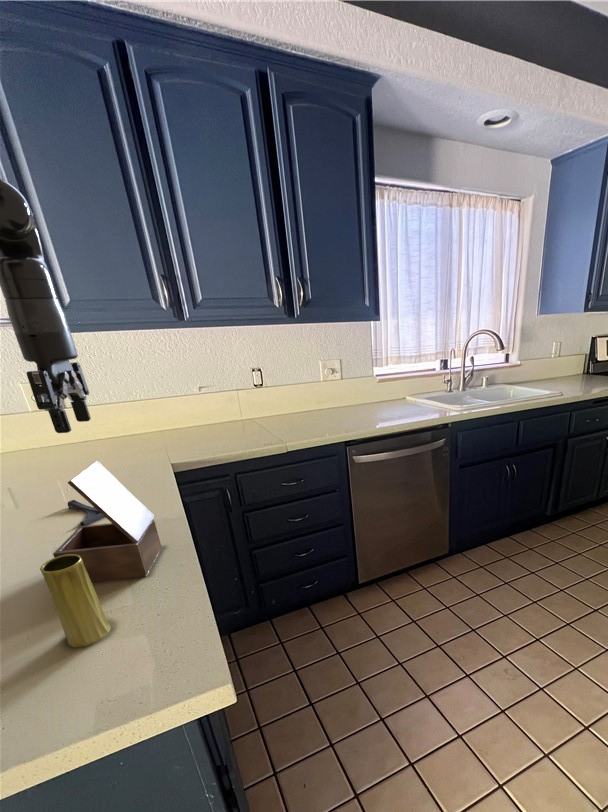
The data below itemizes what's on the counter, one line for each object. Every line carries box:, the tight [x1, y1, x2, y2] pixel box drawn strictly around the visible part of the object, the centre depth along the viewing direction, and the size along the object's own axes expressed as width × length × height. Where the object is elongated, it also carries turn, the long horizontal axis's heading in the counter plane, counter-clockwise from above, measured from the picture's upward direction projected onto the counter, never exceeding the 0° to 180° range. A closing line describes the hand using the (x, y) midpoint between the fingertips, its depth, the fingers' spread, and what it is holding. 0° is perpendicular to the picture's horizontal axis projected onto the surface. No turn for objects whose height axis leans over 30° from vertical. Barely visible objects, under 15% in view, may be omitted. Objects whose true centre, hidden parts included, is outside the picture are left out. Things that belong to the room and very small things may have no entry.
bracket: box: [67, 499, 106, 526], centre depth 114 cm, size 14×15×3 cm
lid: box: [67, 460, 155, 543], centre depth 84 cm, size 15×12×1 cm
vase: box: [39, 554, 112, 648], centre depth 67 cm, size 6×6×14 cm
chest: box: [52, 518, 163, 584], centre depth 88 cm, size 15×12×8 cm
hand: (74, 426), depth 77 cm, fingers open, 8 cm apart
